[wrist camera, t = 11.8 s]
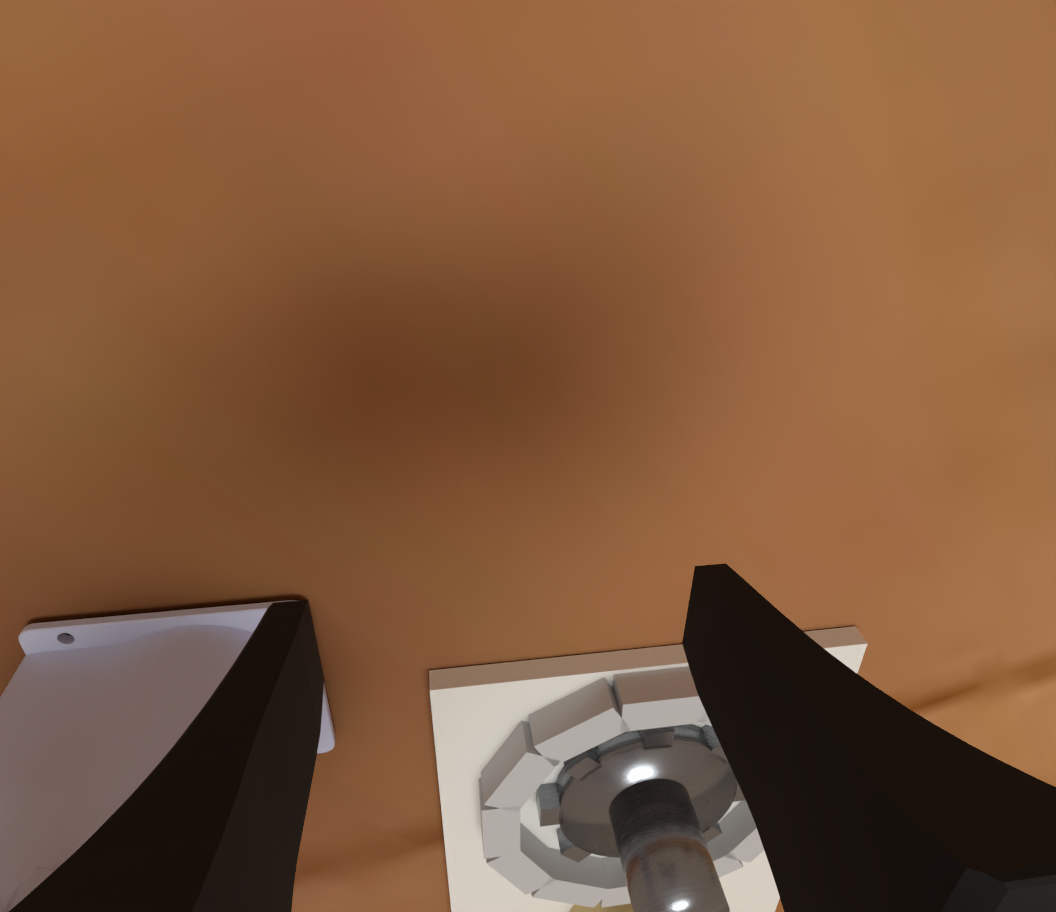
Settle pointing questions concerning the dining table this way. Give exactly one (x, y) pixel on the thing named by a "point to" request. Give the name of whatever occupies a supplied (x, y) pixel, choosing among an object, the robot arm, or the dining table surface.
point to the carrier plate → (537, 758)
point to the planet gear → (648, 813)
